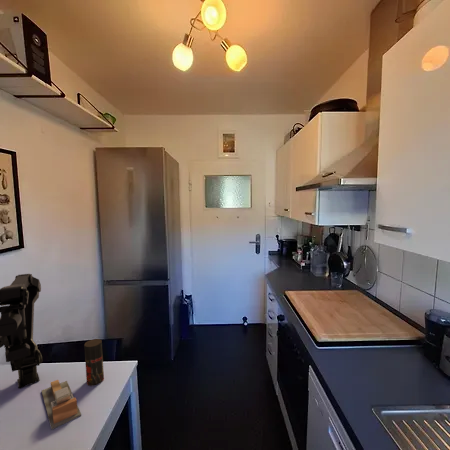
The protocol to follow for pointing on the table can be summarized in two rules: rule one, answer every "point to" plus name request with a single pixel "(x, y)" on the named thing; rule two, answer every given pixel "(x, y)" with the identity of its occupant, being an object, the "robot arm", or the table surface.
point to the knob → (61, 396)
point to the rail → (61, 411)
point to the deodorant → (94, 362)
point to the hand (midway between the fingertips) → (18, 368)
